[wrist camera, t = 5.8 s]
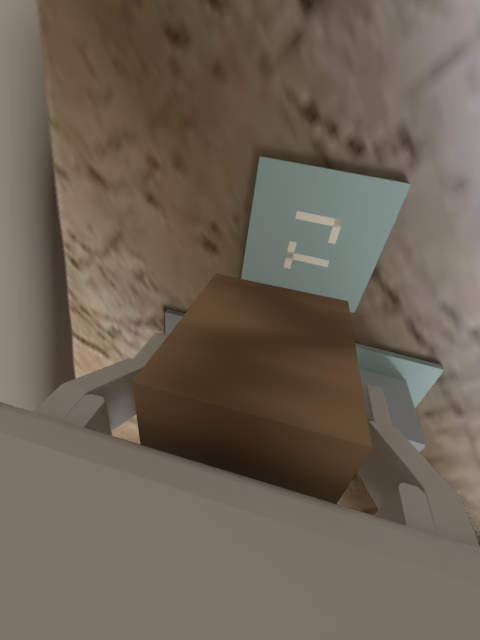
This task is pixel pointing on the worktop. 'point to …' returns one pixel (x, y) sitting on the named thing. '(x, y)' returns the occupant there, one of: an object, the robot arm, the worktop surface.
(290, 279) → the code tile
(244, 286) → the walnut block
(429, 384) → the code tile
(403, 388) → the blue-grey block
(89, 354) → the worktop surface
